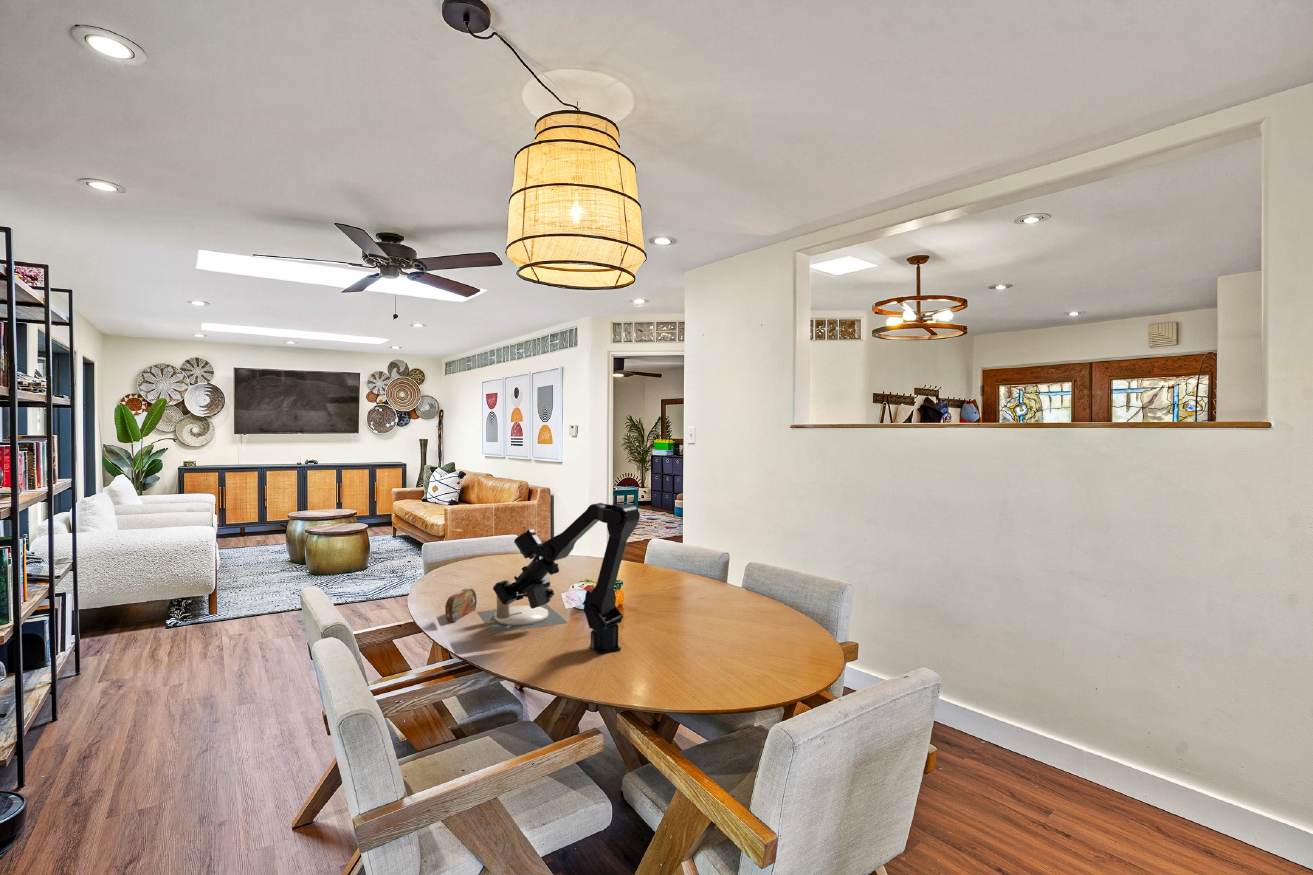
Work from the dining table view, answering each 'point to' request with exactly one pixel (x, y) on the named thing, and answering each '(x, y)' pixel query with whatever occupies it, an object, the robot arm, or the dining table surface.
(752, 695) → the dining table surface
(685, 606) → the dining table surface
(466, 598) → the tin
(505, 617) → the dial
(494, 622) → the dial plate
